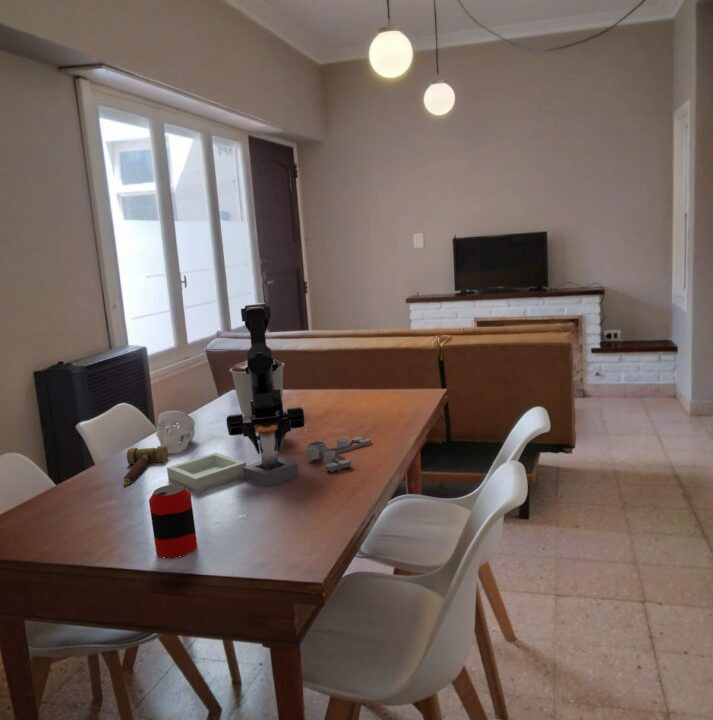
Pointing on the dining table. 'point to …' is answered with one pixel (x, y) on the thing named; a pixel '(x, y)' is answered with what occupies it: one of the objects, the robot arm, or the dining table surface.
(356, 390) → the dining table surface
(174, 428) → the skull bowl
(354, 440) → the pulley system
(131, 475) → the gavel
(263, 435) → the pin
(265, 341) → the robot arm
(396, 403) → the dining table surface
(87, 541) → the dining table surface
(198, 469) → the tray
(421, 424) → the dining table surface
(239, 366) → the canister
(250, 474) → the pin socket
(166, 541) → the soda can
